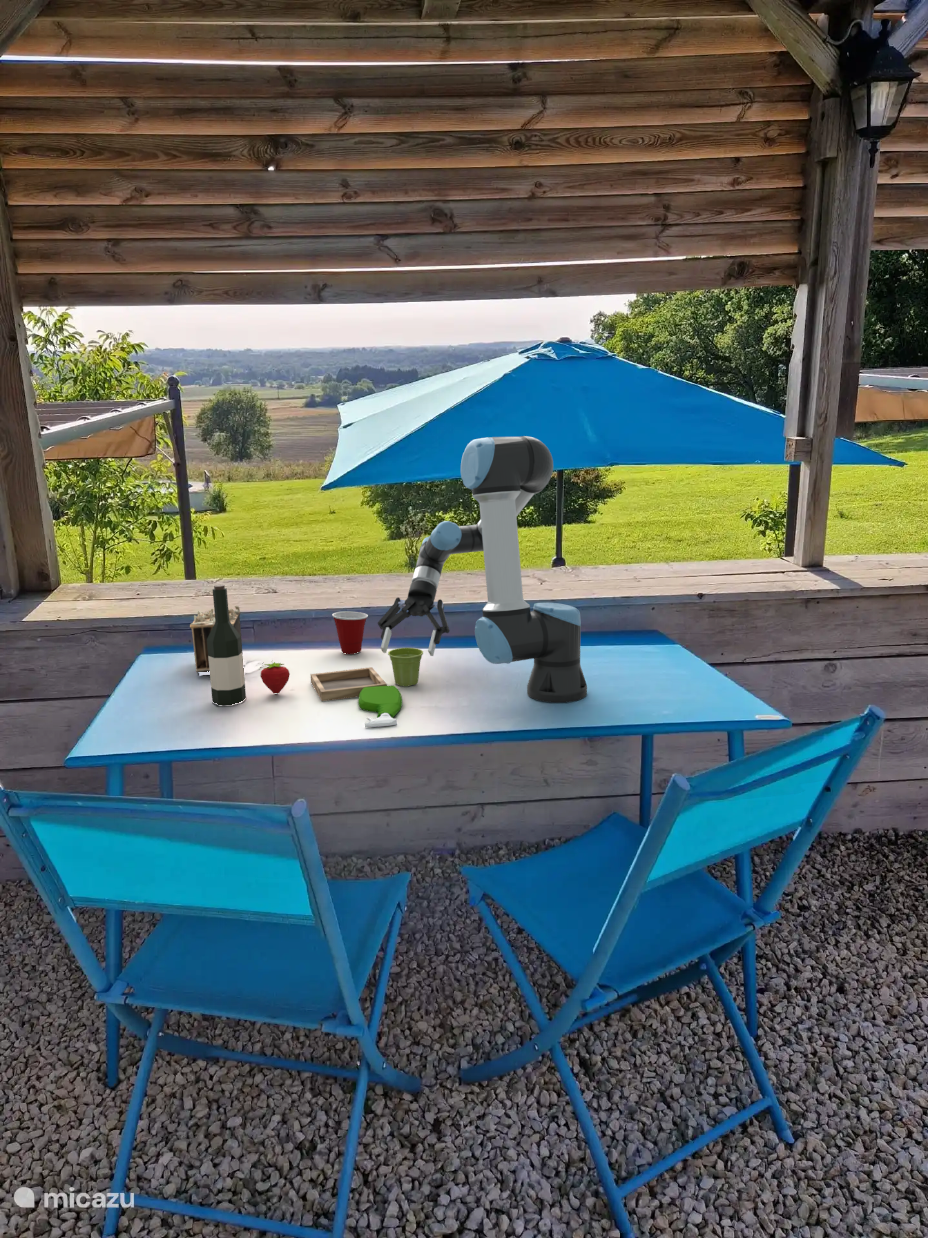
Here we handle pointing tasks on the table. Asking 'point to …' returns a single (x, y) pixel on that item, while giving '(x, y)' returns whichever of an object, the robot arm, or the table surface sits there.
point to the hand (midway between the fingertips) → (406, 652)
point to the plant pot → (406, 665)
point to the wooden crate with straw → (202, 631)
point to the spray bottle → (381, 704)
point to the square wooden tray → (345, 683)
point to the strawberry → (275, 676)
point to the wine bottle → (225, 654)
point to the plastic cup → (350, 630)
